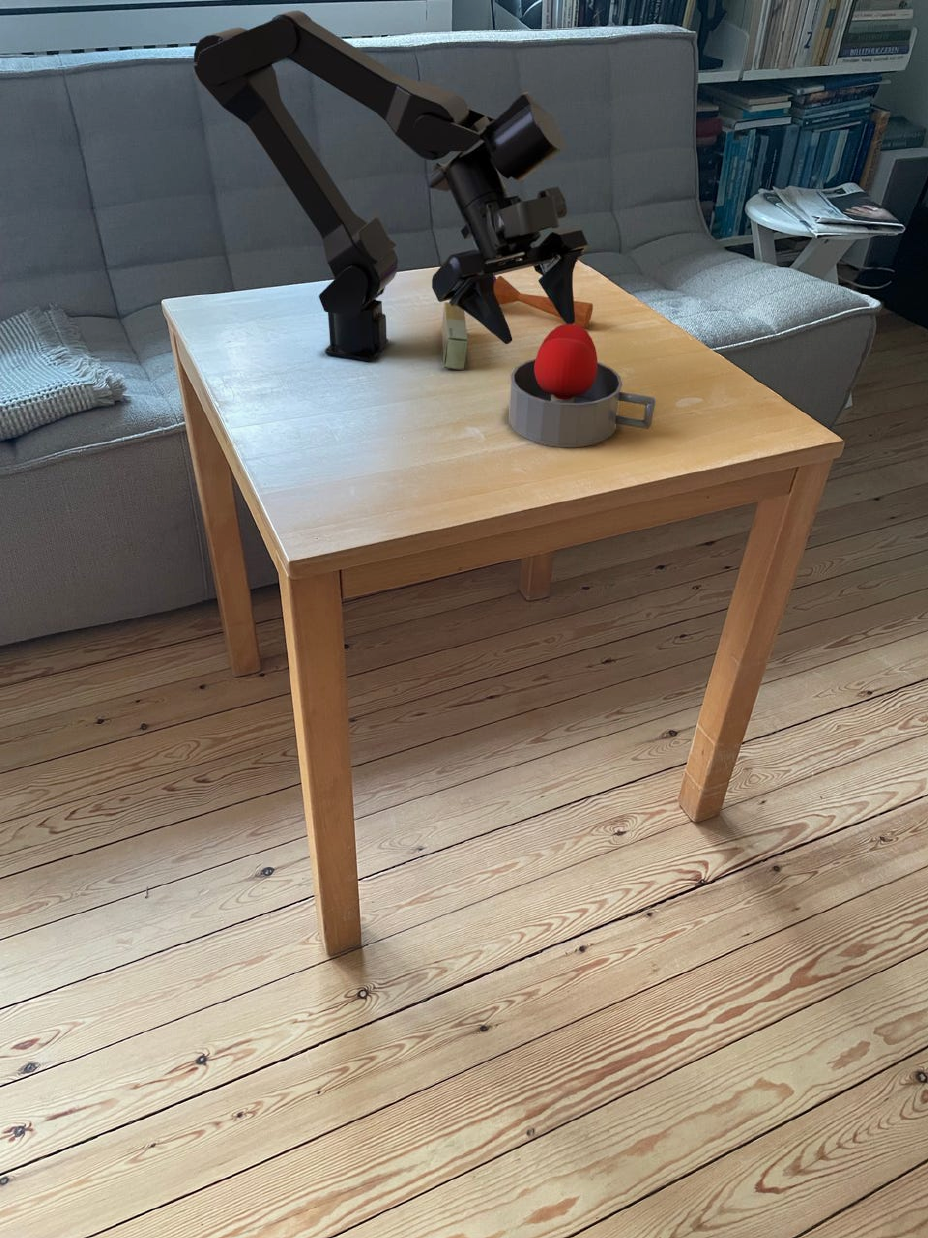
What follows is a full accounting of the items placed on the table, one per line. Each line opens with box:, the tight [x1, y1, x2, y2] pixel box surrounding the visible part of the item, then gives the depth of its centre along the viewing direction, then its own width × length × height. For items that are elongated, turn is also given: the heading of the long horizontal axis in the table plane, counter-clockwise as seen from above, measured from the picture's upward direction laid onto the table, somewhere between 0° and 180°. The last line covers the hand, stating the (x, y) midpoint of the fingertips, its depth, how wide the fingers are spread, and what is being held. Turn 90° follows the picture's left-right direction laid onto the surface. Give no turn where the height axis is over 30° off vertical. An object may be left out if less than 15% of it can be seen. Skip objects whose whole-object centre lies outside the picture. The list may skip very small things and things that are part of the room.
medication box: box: [440, 301, 469, 371], centre depth 120 cm, size 12×3×4 cm, turn 3°
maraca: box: [493, 275, 594, 329], centre depth 130 cm, size 6×6×20 cm
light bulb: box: [534, 323, 599, 403], centre depth 104 cm, size 9×7×10 cm
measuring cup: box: [508, 357, 657, 448], centre depth 105 cm, size 16×12×5 cm
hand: (541, 333), depth 104 cm, fingers open, 9 cm apart
